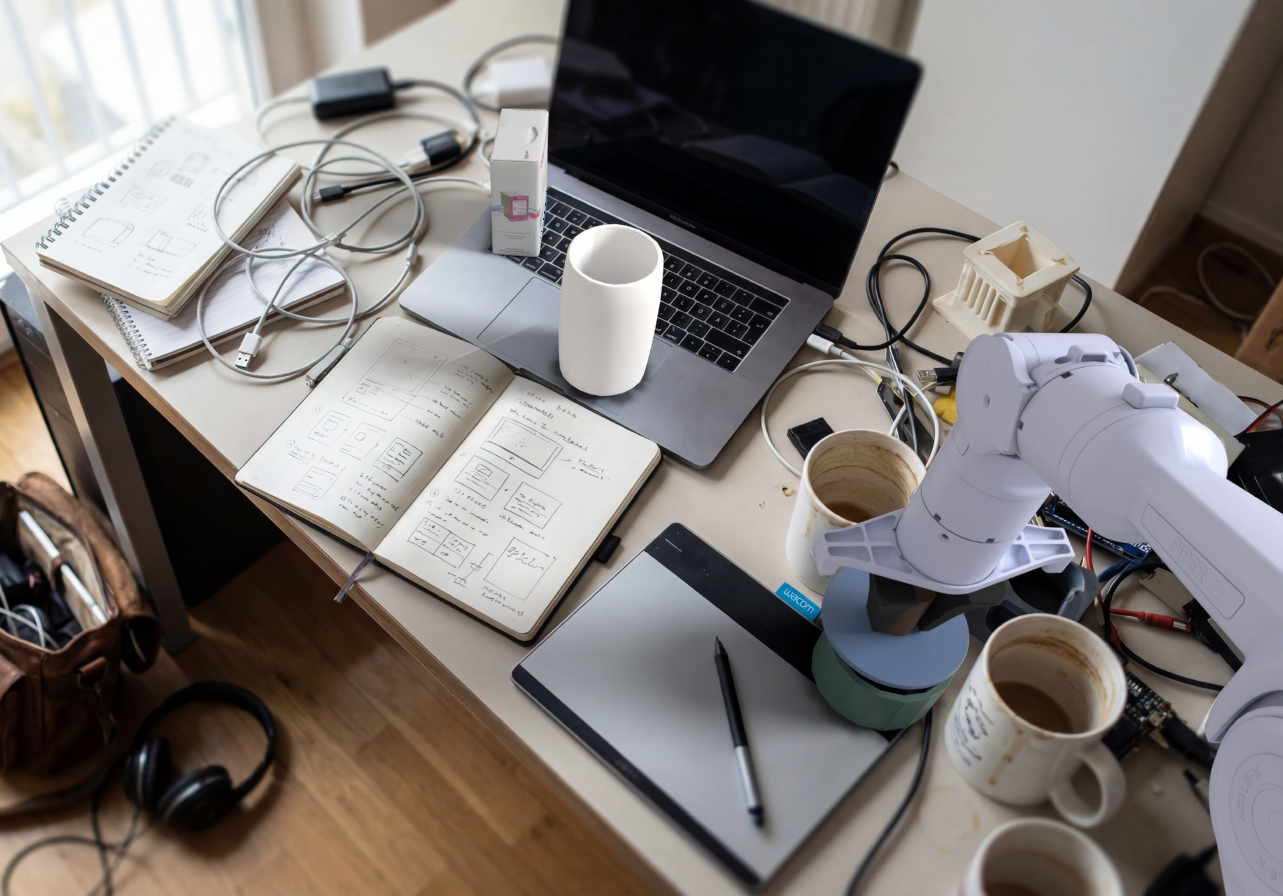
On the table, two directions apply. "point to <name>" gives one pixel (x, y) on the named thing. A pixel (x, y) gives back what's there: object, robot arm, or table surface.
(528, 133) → the ink box
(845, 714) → the container
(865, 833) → the table surface
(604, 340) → the cup
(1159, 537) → the robot arm
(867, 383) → the table surface
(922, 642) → the lid
